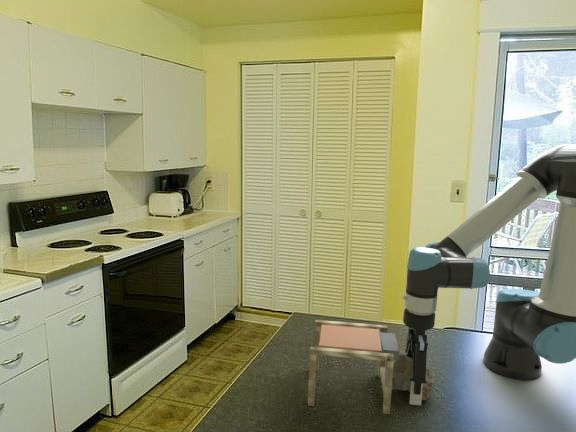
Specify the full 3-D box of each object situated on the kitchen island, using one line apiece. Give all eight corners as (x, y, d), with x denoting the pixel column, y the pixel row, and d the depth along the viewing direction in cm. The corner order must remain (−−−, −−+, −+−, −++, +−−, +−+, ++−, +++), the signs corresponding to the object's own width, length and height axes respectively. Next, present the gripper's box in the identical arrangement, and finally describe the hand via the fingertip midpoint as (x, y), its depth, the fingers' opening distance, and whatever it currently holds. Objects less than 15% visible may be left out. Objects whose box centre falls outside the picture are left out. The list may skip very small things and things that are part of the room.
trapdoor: (393, 338, 118) (394, 329, 118) (399, 364, 105) (400, 353, 104) (321, 332, 121) (322, 323, 120) (318, 357, 107) (318, 346, 107)
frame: (383, 375, 122) (387, 325, 120) (389, 414, 105) (394, 356, 102) (313, 368, 125) (315, 319, 122) (307, 405, 107) (310, 349, 105)
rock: (423, 416, 109) (449, 384, 110) (390, 388, 108) (416, 356, 108) (408, 399, 118) (432, 370, 119) (377, 373, 117) (401, 344, 117)
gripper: (399, 294, 121) (393, 370, 125) (410, 326, 100) (402, 417, 104) (427, 296, 120) (420, 372, 124) (444, 329, 99) (435, 420, 103)
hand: (412, 392), depth 114 cm, fingers closed on rock, 9 cm apart
